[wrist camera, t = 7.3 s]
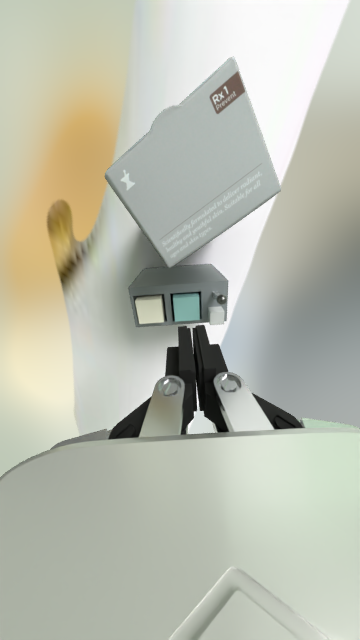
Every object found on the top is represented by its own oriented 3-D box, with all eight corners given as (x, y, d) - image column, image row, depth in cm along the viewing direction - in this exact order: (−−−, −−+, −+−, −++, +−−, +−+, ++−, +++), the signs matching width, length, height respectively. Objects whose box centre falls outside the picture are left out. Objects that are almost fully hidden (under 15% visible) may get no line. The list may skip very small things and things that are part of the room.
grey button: (208, 307, 19) (210, 312, 18) (221, 306, 19) (224, 311, 18) (208, 319, 20) (210, 325, 19) (220, 318, 20) (223, 324, 19)
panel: (144, 268, 27) (128, 287, 18) (211, 263, 27) (228, 280, 18) (148, 297, 29) (136, 327, 20) (211, 292, 29) (226, 321, 20)
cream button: (140, 291, 21) (135, 300, 18) (163, 289, 21) (160, 299, 18) (144, 311, 22) (139, 323, 19) (165, 310, 22) (163, 322, 19)
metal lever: (210, 290, 19) (217, 295, 15) (219, 289, 19) (228, 294, 15) (210, 298, 19) (217, 306, 15) (219, 298, 19) (228, 305, 15)
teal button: (173, 288, 21) (172, 298, 18) (196, 287, 21) (199, 296, 18) (175, 309, 22) (175, 321, 19) (196, 308, 22) (199, 319, 19)
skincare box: (173, 255, 27) (169, 284, 12) (142, 207, 24) (91, 173, 10) (225, 217, 25) (292, 201, 10) (197, 161, 22) (236, 33, 8)
